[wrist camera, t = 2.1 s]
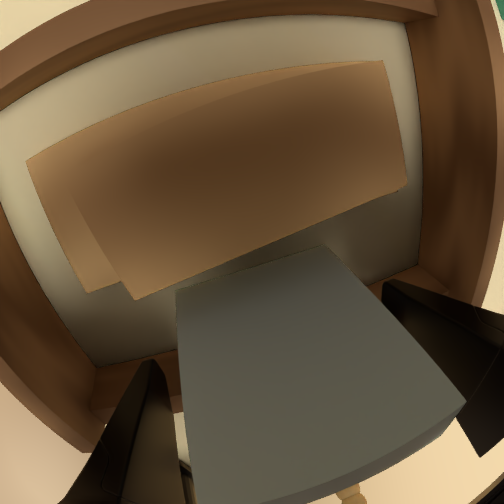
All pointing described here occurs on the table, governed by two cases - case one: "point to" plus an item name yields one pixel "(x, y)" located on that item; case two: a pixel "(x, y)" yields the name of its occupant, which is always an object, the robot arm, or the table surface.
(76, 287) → the table surface
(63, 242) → the offcut
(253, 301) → the grey tapered box
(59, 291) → the table surface
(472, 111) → the picture frame
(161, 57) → the table surface
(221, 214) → the offcut
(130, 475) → the robot arm
